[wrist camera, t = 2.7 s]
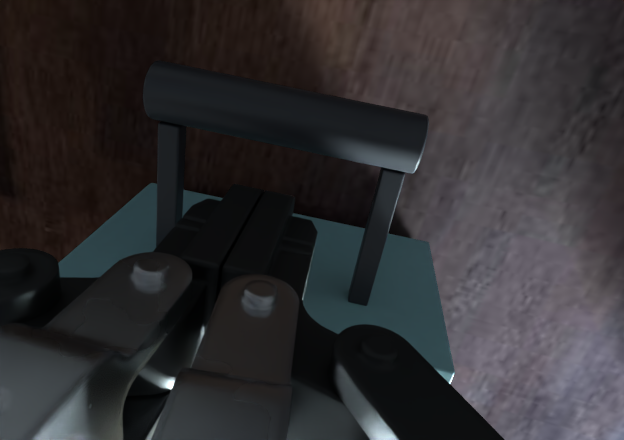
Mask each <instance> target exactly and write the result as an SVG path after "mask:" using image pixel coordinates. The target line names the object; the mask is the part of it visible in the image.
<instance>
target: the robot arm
mask: <svg viewBox="0 0 624 440" xmlns="http://www.w3.org/2000/svg"><path fill="white" fill-rule="evenodd" d="M294 203H295V196H291V195H286V194H281V193H276V192H272V191H267V190H265V192H264V190H262V189H257V188H252V187H248V186H243V185H238V184H233V185H232V186H231V188H230V189H229V191H228V192H227V193H226V195H225V196H224V197H223V199H222V200H221V201H219V200H214V199H210V198H208V199H205V200H203V201H201V202H199V203H196V204H194V205H192V206H191V207H190V209H189V210H188V211H187V212H186V213H185V214H184V216H183V218H181V219H180V220H179V221H178V223H177V224H176V226H175V227H173V228H172V230H171V231H170V232H169V233H168V234H167V235H166V237H165V238H164V239H163V240H162V241H161V243H160V244H159V245H158V246H157V247H156V248H155V250H154V251H153V252H145V253H138V254H134V255H130V256H128V257H125V258H123V259H121V260H119V261H118V262H117V263H115V264H114V265H113V266H112V267H111V268H110V269H108V270H107V271H106V272H105V273H104V274H103V275H102V276H101V277H95V278H87V277H60V273H59V264H58V262H57V260H56V259H55V258H54V257H53V256H52V255H50V254H49V253H46V252H44V251H40V250H36V249H27V248H14V249H5V250H0V440H504V439H503V438H502V437H501V436H500V435H499V434H498V433H497V432H496V431H495V430H494V429H493V428H492V426H491V425H490V424H489V423H488V422H487V421H486V420H485V419H484V418H483V417H482V416H481V415H480V414H479V413H478V412H477V411H476V410H475V409H474V408H473V407H472V406H471V405H470V404H469V403H468V402H467V401H466V400H465V399H464V398H463V397H462V396H461V395H460V394H459V393H458V392H457V391H456V390H455V389H454V388H453V387H452V386H451V385H450V384H449V383H448V382H447V381H446V380H445V379H444V378H443V377H442V376H441V375H440V374H439V373H438V372H437V371H436V370H435V369H434V367H433V366H432V365H431V364H430V363H429V362H428V361H427V360H426V359H425V358H424V357H423V356H422V355H421V354H420V353H419V352H418V351H417V350H416V349H415V348H414V347H413V346H412V345H411V344H410V343H409V342H408V341H407V340H405V339H404V338H403V337H402V336H400V335H399V334H397V333H395V332H393V331H391V330H389V329H386V328H384V327H380V326H376V325H369V324H360V325H354V326H350V327H348V328H346V329H344V330H343V331H341V332H340V333H339V334H337V333H335V332H333V331H331V330H329V329H327V328H325V327H323V326H322V325H320V324H319V323H317V322H316V321H315V320H314V319H313V318H311V316H310V315H309V314H308V313H307V311H306V309H305V308H304V305H303V299H304V295H305V291H306V287H307V282H308V277H309V272H310V268H311V263H312V258H313V253H314V248H315V243H316V238H317V234H318V232H317V230H316V228H315V226H314V224H313V222H312V220H308V219H304V218H299V217H294V216H292V215H293V210H294Z"/></svg>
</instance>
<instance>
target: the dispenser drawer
mask: <svg viewBox="0 0 624 440" xmlns="http://www.w3.org/2000/svg"><path fill="white" fill-rule="evenodd" d="M143 103H144V108H145V112H146V114H147V115H148V116H149V117H150V118H151V119H154V120H159V121H161V122H159V124H158V162H157V184H155V183H150V184H149V185H148V186H146V187H145V188H144V189H143V190H142V191H141V192H140V193H138V194H137V195H136V196H135V197H134V198H133V199H131V200H130V201H129V202H128V203H127V204H126V205H125V206H123V207H122V208H121V209H120V210H119V211H118V212H117V213H115V214H114V215H113V216H112V217H111V218H110V219H108V220H107V221H106V222H105V223H104V224H103V225H102V226H100V227H99V228H98V229H97V230H96V231H95V232H93V233H92V234H91V235H90V236H89V237H88V238H87V239H85V240H84V241H83V242H82V243H81V244H80V245H79V246H77V247H76V248H75V249H74V250H73V251H72V252H70V253H69V254H68V255H67V256H66V257H65V258H64V259H62V260H61V261H60V262H59V263H58V264H59V273H60V277H87V278H95V277H101V276H102V275H103V274H104V273H105V272H106V271H107V270H108V269H110V268H111V267H112V266H113V265H114V264H115V263H117V262H118V261H119V260H121V259H123V258H125V257H128V256H130V255H134V254H138V253H145V252H153V251H154V250H155V248H156V247H157V246H158V245H159V244H160V243H161V241H162V240H163V239H164V238H165V237H166V235H167V234H168V233H169V232H170V231H171V230H172V228H173V227H175V226H176V224H177V223H178V221H179V220H180V219H181V218H183V216H184V214H185V213H186V212H187V211H188V210H189V209H190V207H191V206H192V205H194V204H196V203H199V202H201V201H203V200H205V199H208V198H210V199H214V200H219V201H221V200H222V199H223V198H220V197H215V196H211V195H206V194H201V193H197V192H192V191H187V190H184V169H185V148H186V126H188V127H192V128H197V129H202V130H207V131H211V132H216V133H221V134H226V135H231V136H235V137H240V138H245V139H250V140H254V141H259V142H264V143H269V144H273V145H278V146H283V147H288V148H293V149H297V150H302V151H307V152H312V153H316V154H321V155H326V156H331V157H335V158H340V159H345V160H350V161H355V162H359V163H364V164H369V165H374V166H378V167H381V170H380V174H379V177H378V181H377V185H376V189H375V193H374V196H373V200H372V204H371V208H370V212H369V216H368V219H367V223H366V227H365V228H360V227H355V226H351V225H346V224H341V223H337V222H332V221H327V220H323V219H318V218H313V217H309V216H304V215H299V214H295V213H293V215H292V216H294V217H299V218H304V219H308V220H312V222H313V224H314V226H315V228H316V230H317V232H318V234H317V238H316V243H315V248H314V253H313V258H312V263H311V268H310V272H309V277H308V282H307V287H306V291H305V295H304V299H303V305H304V308H305V309H306V311H307V313H308V314H309V315H310V316H311V318H313V319H314V320H315V321H316V322H317V323H319V324H320V325H322V326H323V327H325V328H327V329H329V330H331V331H333V332H335V333H337V334H339V333H340V332H341V331H343V330H344V329H346V328H348V327H350V326H354V325H360V324H369V325H376V326H380V327H384V328H386V329H389V330H391V331H393V332H395V333H397V334H399V335H400V336H402V337H403V338H404V339H405V340H407V341H408V342H409V343H410V344H411V345H412V346H413V347H414V348H415V349H416V350H417V351H418V352H419V353H420V354H421V355H422V356H423V357H424V358H425V359H426V360H427V361H428V362H429V363H430V364H431V365H432V366H433V367H434V369H435V370H436V371H437V372H438V373H439V374H440V375H441V376H442V377H443V378H444V379H445V380H446V381H447V382H448V383H449V384H450V383H451V380H452V378H453V376H454V374H455V371H454V366H453V361H452V356H451V351H450V346H449V341H448V336H447V331H446V326H445V321H444V316H443V311H442V306H441V301H440V296H439V291H438V286H437V281H436V276H435V271H434V266H433V261H432V256H431V251H430V246H429V242H425V241H421V240H416V239H411V238H407V237H402V236H397V235H393V234H388V232H389V229H390V225H391V222H392V218H393V215H394V212H395V208H396V205H397V201H398V198H399V194H400V191H401V187H402V184H403V180H404V177H405V173H404V172H407V173H414V172H415V171H416V169H417V167H418V165H419V163H420V160H421V157H422V154H423V151H424V147H425V143H426V139H427V133H428V125H429V121H428V116H426V115H424V114H419V113H414V112H409V111H404V110H399V109H394V108H390V107H385V106H380V105H375V104H370V103H365V102H360V101H355V100H351V99H346V98H341V97H336V96H331V95H326V94H321V93H316V92H312V91H307V90H302V89H297V88H292V87H287V86H282V85H277V84H273V83H268V82H263V81H258V80H253V79H248V78H243V77H239V76H234V75H229V74H224V73H219V72H214V71H209V70H204V69H200V68H195V67H190V66H185V65H180V64H175V63H170V62H165V61H160V60H159V61H155V62H154V63H153V64H152V65H151V66H150V68H149V70H148V72H147V75H146V78H145V82H144V88H143Z"/></svg>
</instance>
